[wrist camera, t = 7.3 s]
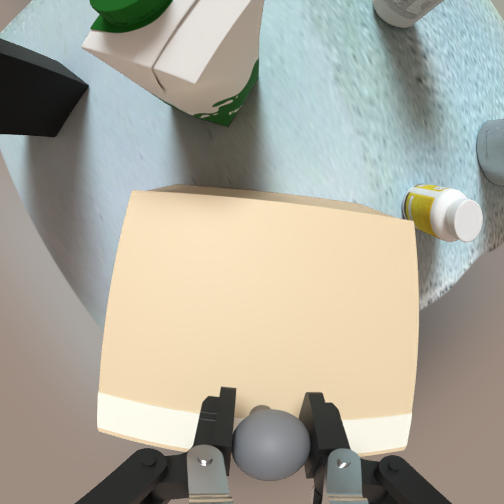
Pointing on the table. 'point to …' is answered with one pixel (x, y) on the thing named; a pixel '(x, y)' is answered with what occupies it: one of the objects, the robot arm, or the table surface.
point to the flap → (259, 325)
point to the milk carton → (183, 50)
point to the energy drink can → (403, 10)
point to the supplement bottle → (442, 212)
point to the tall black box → (35, 92)
